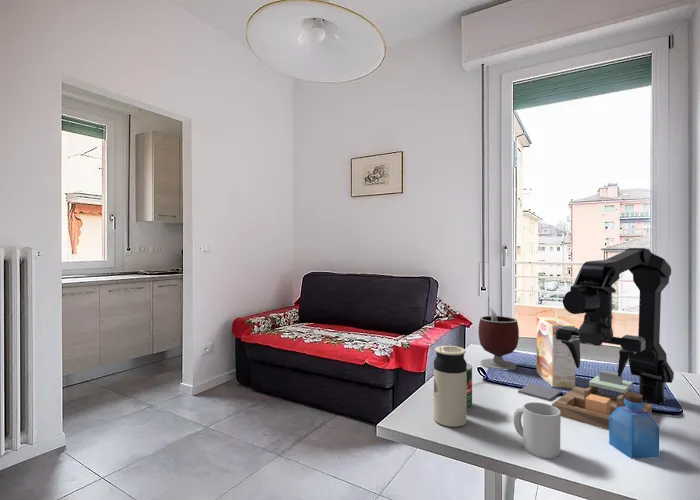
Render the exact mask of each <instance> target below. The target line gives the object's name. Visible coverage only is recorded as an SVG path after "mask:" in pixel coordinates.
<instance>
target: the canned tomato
mask: <svg viewBox="0 0 700 500" xmlns="http://www.w3.org/2000/svg"><path fill="white" fill-rule="evenodd" d="M472 408H473V366H472V364H469V363H467V411H469V410H471V409H472Z"/></svg>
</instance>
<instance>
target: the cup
mask: <svg viewBox="0 0 700 500" xmlns="http://www.w3.org/2000/svg"><path fill="white" fill-rule="evenodd" d="M560 414H561V412H560V410H559V409H558V408H556V407H554V406H552V404H548V403H543V402H537V401H531V402H526V403H524V404H523V405H522V406H518V407H517V408H516V409H515V411H514V415H513V425H514V429H515V431H516V432H517V434H518V435H520V437H521V438H522V446H523V448H524V450H525V451H526V452H527V453H528V454H530V455H532V456H535V457H538V458H540V459H555V458H558V456H559V455H560V454H561V416H560Z"/></svg>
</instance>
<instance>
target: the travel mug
mask: <svg viewBox="0 0 700 500" xmlns="http://www.w3.org/2000/svg"><path fill="white" fill-rule="evenodd" d="M434 351H435V353H436V356H435V358H434V360H433V420H434V421H435V422H436V423H437V424H440V425H442V426H445V427H448V428H450V427H451V428H457V427H462V426H464V425H465V424H467V416H468V415H467V411H468V410H467V364H468V363H467V361H466V359H465V354H466V349H465V348H463V347H460V346H456V345H440V346H439V345H438V346H436V347H435V348H434Z"/></svg>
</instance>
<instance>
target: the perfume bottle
mask: <svg viewBox="0 0 700 500" xmlns="http://www.w3.org/2000/svg"><path fill="white" fill-rule="evenodd" d="M625 397H626V398H624V404H625V407H617V408H616V409H615V410H614V411H613V413H612V414H611V415H610V416H609V430H608V440H609V441H608V445H610V446H612V448H615V449H616V450H617V451H619V452H620V453H622V454H623V455H624V456H627V458H629V459H631V460H634V459H635V460H636V459H638V460H639V459H654V458H655V459H656V458H657V459H658V458H660V426H659V425H658V423H657V422H656V421H655V419H654V418H653V415H652V414H651V415H650V414H649V413H647V412H645V411H643V410H642V408H643V407H644V402H645V401H644V400H642V397H643V396H642V395H640V394H638V393H637V392H631V391H629V392H626V393H625Z"/></svg>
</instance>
